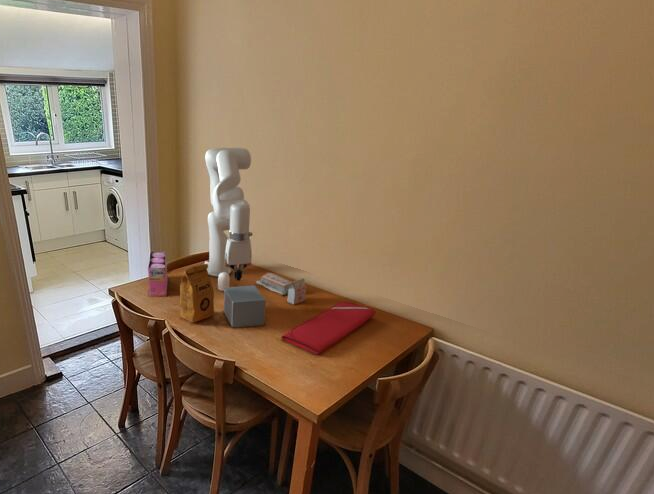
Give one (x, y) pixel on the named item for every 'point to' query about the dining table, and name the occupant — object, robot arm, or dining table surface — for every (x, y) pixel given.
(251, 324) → the blue-grey box
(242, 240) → the robot arm
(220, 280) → the capsule
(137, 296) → the dining table surface
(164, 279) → the gum box
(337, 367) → the dining table surface
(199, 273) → the coffee package
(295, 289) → the small milk carton
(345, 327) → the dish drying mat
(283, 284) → the packaged product
